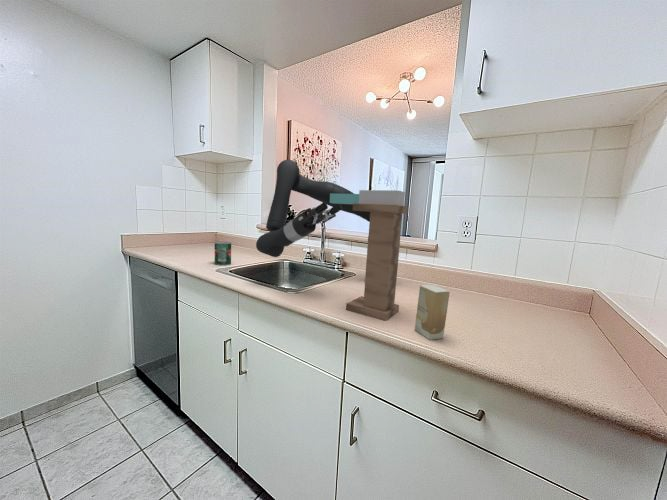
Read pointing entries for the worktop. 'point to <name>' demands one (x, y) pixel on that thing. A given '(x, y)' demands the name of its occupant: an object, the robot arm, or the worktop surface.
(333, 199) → the tool
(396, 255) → the tall wooden column
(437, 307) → the skincare box
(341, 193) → the robot arm
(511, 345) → the worktop surface
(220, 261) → the canned tomato
